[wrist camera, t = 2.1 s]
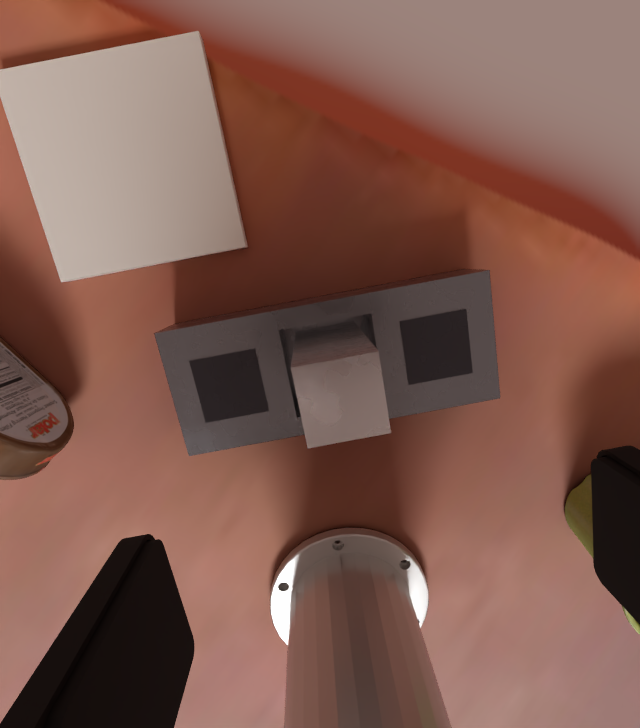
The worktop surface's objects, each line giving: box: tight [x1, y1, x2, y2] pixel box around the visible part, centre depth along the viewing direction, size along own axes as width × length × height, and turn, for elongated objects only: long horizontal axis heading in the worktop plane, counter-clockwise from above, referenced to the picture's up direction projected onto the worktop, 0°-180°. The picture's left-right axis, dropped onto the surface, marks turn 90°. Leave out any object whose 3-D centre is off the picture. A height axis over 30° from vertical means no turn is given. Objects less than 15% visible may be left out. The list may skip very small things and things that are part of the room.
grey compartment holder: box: [154, 269, 500, 456], centre depth 28 cm, size 8×20×4 cm, turn 100°
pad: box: [0, 31, 248, 282], centre depth 26 cm, size 12×12×1 cm
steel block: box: [291, 321, 391, 448], centre depth 24 cm, size 4×4×10 cm
